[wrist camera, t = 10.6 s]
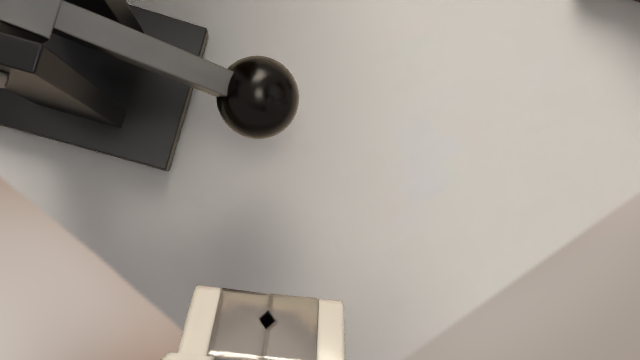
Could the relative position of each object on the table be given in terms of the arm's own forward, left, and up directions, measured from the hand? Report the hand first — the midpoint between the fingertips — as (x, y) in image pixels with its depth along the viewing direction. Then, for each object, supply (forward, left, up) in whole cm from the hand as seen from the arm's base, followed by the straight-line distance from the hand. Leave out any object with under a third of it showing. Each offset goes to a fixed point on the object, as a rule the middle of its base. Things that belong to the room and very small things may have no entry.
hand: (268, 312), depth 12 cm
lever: (+7, -7, -12) cm, 16 cm away
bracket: (+11, -7, -20) cm, 24 cm away
